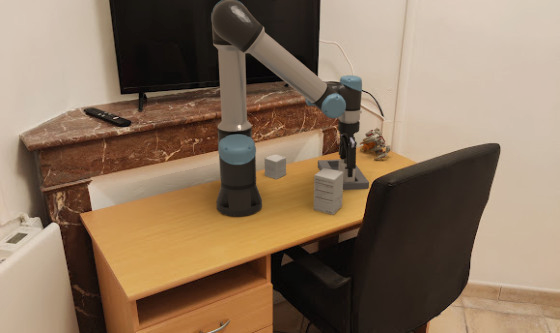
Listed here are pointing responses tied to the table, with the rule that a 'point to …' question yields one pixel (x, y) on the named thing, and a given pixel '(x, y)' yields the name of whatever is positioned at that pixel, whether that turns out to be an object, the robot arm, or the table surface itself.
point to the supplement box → (328, 190)
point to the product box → (275, 166)
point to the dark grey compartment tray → (358, 184)
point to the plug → (342, 168)
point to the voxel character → (375, 143)
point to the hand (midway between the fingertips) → (345, 179)
